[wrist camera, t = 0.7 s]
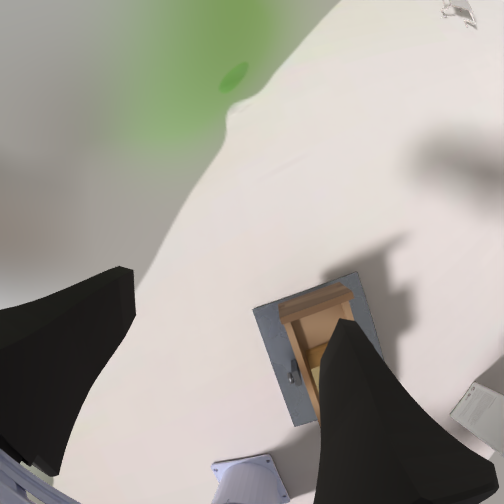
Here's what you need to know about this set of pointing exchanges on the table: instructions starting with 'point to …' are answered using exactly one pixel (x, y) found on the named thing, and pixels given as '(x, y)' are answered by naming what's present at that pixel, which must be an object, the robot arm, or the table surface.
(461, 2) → the origami figure
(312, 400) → the balance beam
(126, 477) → the table surface
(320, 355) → the block
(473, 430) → the skincare box
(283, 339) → the pivot stand
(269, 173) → the table surface
